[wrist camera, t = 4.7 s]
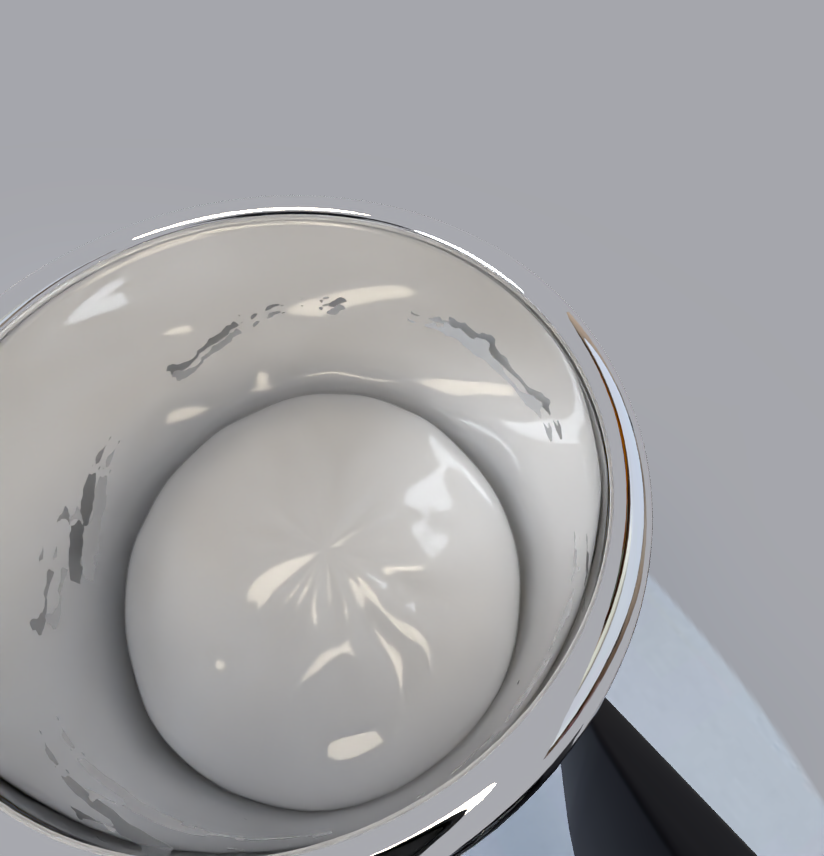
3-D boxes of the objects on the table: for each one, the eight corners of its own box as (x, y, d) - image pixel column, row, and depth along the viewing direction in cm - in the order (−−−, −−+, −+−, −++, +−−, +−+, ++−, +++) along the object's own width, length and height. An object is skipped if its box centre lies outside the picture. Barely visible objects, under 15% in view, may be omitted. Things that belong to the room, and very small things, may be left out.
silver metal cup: (287, 800, 14) (-454, 1492, 2) (239, 585, 18) (-139, 250, 5) (487, 700, 16) (888, 658, 3) (410, 520, 19) (463, 143, 7)
